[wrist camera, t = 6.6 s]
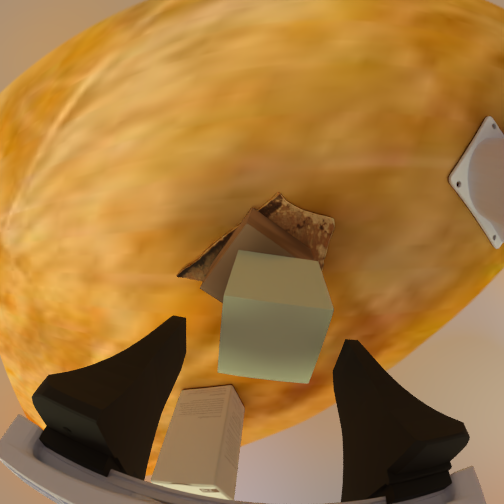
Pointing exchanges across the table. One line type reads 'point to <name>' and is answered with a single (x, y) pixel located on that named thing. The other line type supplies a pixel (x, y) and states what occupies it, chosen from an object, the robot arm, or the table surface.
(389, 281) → the table surface
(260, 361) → the sage block
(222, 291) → the walnut block
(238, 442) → the skincare box
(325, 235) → the shard
